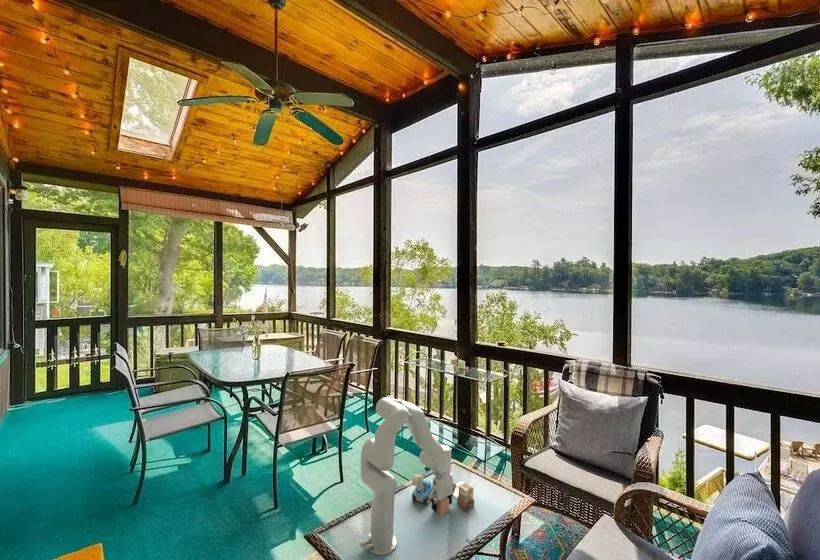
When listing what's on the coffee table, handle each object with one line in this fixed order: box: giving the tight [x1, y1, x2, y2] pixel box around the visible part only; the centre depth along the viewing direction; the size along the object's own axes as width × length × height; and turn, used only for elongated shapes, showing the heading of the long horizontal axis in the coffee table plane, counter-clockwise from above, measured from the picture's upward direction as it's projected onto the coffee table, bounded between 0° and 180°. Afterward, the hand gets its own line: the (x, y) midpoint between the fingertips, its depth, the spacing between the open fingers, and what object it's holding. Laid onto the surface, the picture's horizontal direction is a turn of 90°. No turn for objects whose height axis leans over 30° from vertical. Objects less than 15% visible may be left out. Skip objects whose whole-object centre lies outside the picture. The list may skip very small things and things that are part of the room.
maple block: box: [458, 482, 474, 503], centre depth 185 cm, size 5×5×6 cm
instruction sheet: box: [452, 480, 465, 499], centre depth 198 cm, size 12×9×1 cm
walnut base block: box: [456, 496, 475, 512], centre depth 185 cm, size 6×6×4 cm
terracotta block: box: [434, 497, 450, 515], centre depth 181 cm, size 5×5×6 cm
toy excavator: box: [411, 473, 433, 506], centre depth 186 cm, size 9×17×17 cm, turn 152°
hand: (441, 506), depth 182 cm, fingers open, 8 cm apart
